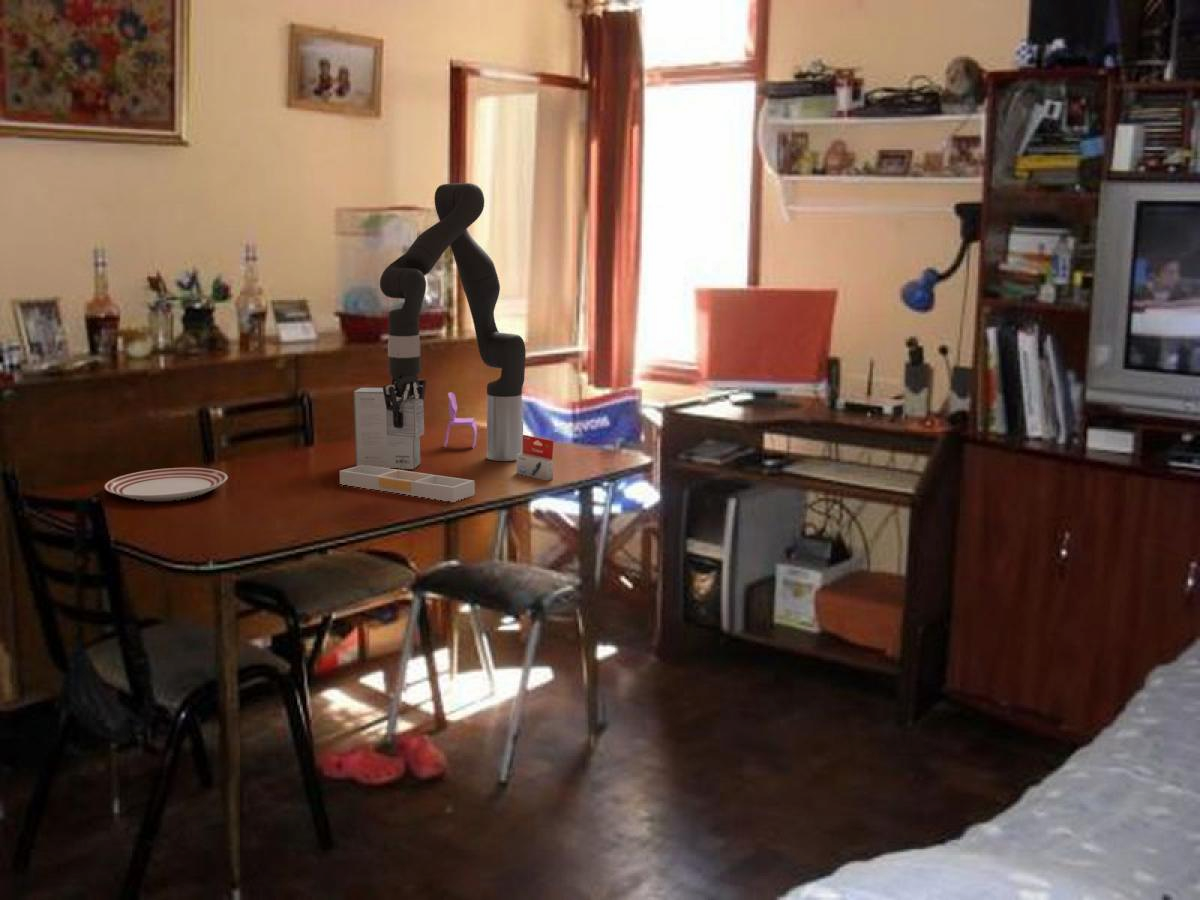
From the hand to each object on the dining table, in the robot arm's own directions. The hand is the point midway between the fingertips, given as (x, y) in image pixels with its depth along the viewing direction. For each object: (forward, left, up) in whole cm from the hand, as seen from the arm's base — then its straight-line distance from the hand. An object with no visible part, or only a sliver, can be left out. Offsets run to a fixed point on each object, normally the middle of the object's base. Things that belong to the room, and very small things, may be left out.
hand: (405, 425), depth 315 cm
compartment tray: (0, 0, -16) cm, 16 cm away
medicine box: (0, 0, -3) cm, 3 cm away
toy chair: (-50, -19, -16) cm, 56 cm away
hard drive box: (-19, -20, -16) cm, 32 cm away
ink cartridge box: (-29, +18, -16) cm, 38 cm away
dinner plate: (+31, -46, -16) cm, 58 cm away
